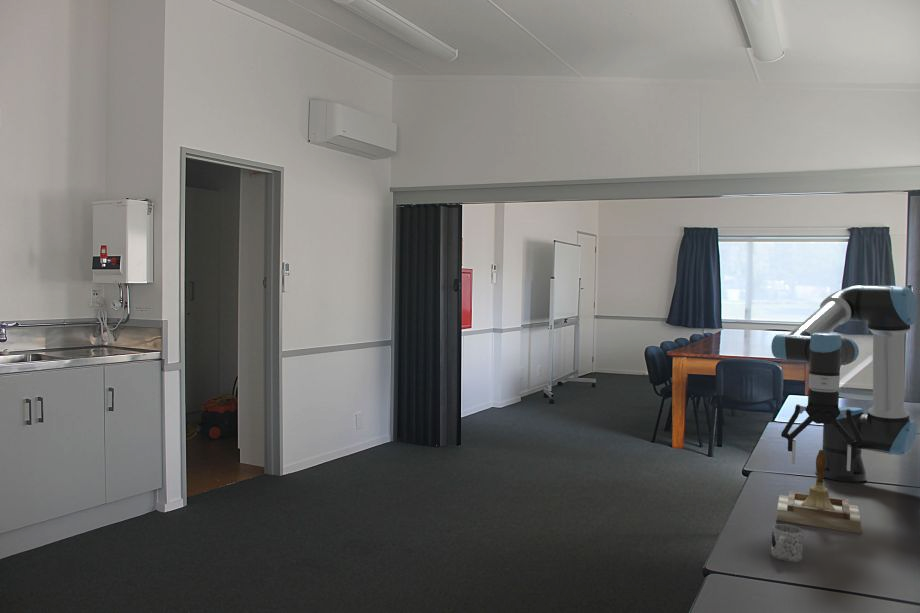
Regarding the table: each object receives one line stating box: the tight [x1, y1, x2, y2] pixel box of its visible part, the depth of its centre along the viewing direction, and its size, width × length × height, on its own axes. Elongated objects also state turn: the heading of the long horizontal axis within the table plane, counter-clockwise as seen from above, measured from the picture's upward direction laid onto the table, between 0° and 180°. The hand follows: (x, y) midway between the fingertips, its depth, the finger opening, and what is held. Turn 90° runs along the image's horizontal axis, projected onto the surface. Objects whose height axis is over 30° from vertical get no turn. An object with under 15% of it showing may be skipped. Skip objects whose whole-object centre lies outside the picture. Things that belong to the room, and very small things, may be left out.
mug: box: [770, 523, 804, 563], centre depth 172 cm, size 10×7×7 cm, turn 141°
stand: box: [776, 490, 862, 534], centre depth 202 cm, size 15×20×4 cm
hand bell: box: [801, 449, 835, 511], centre depth 201 cm, size 8×8×16 cm
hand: (820, 466), depth 201 cm, fingers open, 13 cm apart
